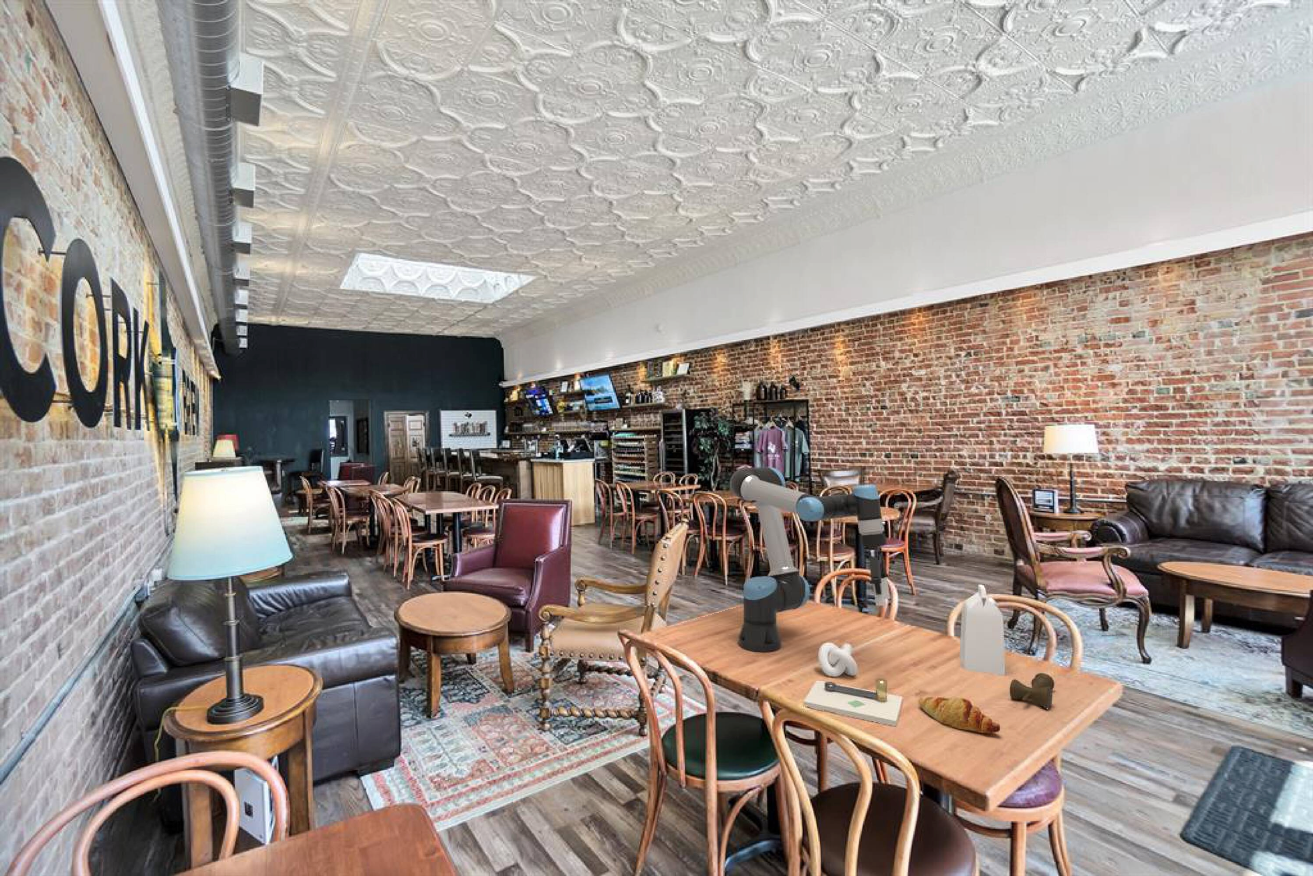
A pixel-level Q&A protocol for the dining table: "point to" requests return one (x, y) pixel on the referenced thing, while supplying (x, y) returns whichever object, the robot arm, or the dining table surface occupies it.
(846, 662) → the white knot sculpture
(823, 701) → the board
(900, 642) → the dining table surface
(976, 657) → the milk
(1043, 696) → the kendama
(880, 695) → the grey crank handle
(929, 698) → the croissant
